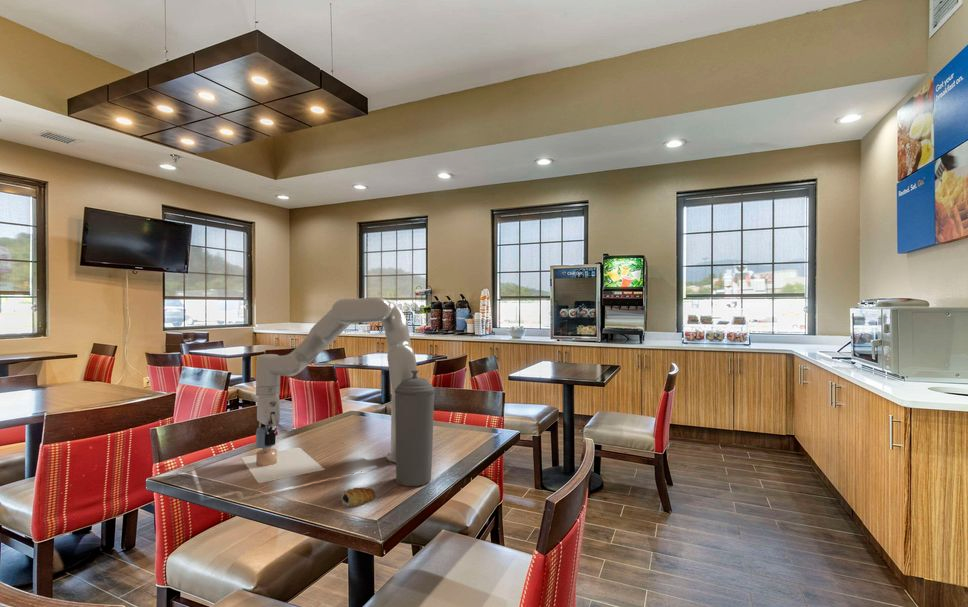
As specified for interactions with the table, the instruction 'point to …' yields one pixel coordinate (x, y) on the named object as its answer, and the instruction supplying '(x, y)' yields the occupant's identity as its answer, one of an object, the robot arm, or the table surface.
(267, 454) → the round stamp handle
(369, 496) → the pastry
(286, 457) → the board
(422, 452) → the canister
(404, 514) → the table surface
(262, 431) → the cap
